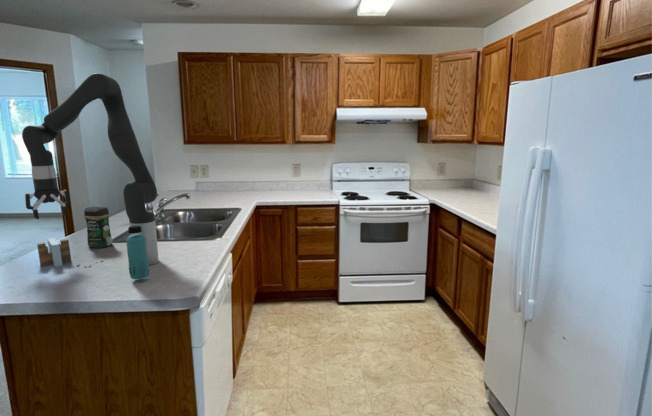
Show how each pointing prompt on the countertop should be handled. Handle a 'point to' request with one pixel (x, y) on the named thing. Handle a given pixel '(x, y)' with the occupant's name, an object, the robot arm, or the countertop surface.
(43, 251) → the notched wooden block
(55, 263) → the pale grey upright slab
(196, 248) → the countertop surface
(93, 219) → the coffee jar
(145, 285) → the countertop surface
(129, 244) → the beverage bottle
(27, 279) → the countertop surface
